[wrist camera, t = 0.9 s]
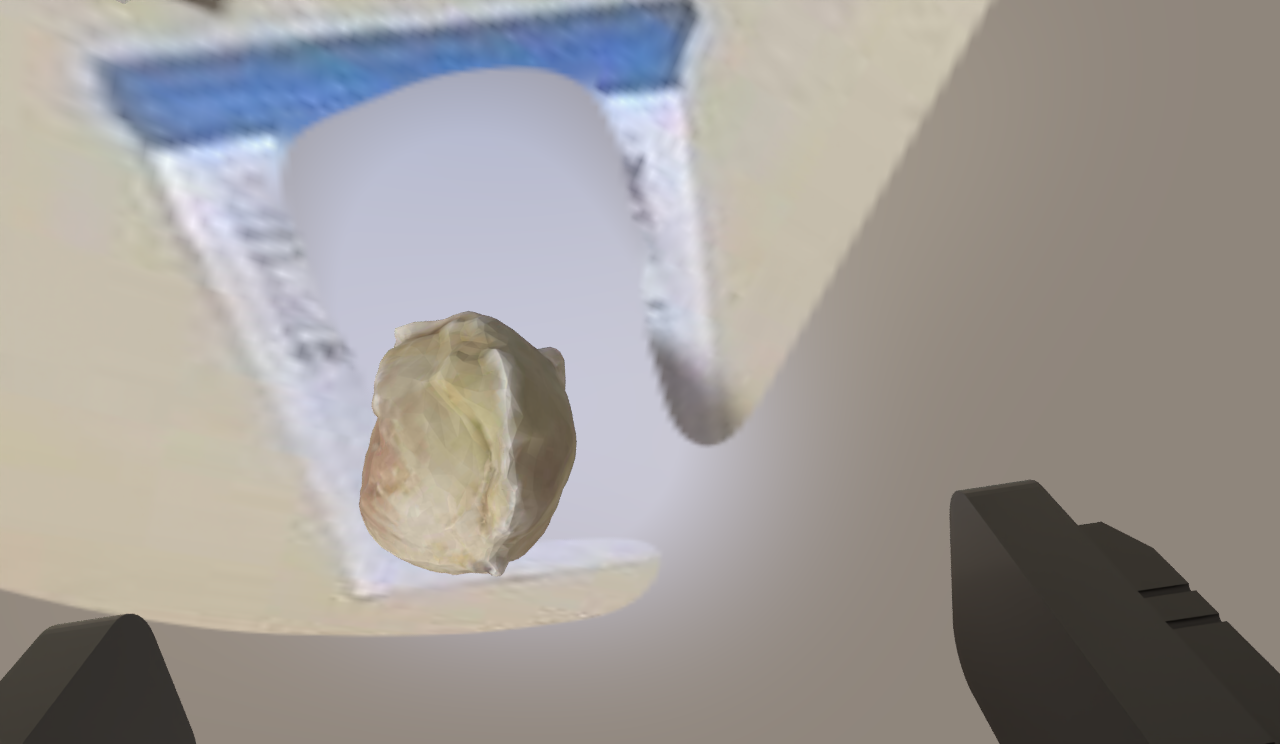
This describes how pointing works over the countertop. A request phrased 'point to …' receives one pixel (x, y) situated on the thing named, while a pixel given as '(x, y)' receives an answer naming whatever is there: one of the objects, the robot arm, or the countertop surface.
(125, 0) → the sprocket
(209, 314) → the countertop surface
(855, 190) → the countertop surface
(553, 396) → the garlic bulb
